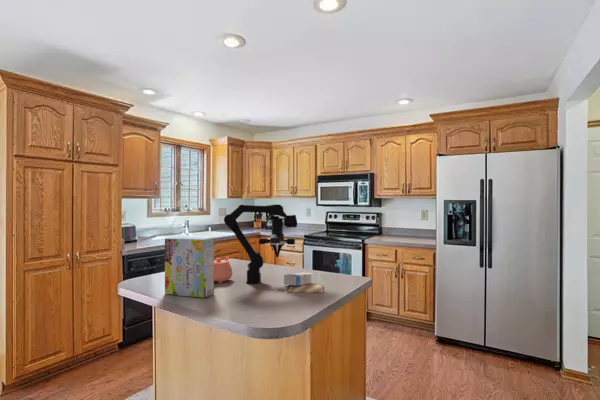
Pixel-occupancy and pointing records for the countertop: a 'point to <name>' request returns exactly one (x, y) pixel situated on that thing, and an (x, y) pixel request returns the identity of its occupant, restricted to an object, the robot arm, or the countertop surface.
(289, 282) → the ink box
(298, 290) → the cork trivet
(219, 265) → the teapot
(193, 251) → the snack box
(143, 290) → the countertop surface
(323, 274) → the countertop surface
